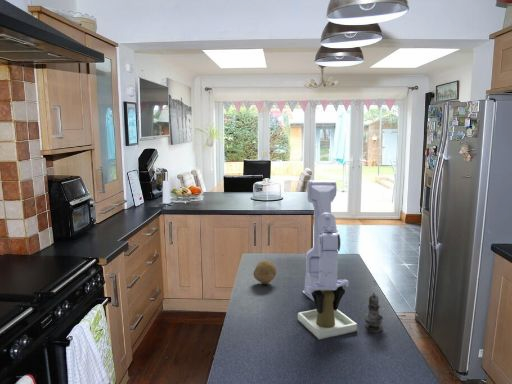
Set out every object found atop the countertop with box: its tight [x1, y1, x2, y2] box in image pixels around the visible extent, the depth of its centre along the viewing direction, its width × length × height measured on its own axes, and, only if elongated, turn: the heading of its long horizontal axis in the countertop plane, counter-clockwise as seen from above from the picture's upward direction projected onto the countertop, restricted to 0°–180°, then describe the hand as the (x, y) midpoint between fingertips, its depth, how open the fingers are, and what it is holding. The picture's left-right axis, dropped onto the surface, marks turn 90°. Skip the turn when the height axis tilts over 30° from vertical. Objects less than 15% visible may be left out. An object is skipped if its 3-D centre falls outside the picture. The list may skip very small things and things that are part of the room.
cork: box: [316, 290, 335, 328], centre depth 128 cm, size 6×6×11 cm
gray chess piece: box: [363, 292, 384, 333], centre depth 126 cm, size 6×6×12 cm
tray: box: [297, 308, 358, 340], centre depth 129 cm, size 14×14×2 cm
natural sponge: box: [252, 259, 277, 285], centre depth 161 cm, size 9×9×10 cm
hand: (326, 310), depth 128 cm, fingers closed on cork, 5 cm apart
